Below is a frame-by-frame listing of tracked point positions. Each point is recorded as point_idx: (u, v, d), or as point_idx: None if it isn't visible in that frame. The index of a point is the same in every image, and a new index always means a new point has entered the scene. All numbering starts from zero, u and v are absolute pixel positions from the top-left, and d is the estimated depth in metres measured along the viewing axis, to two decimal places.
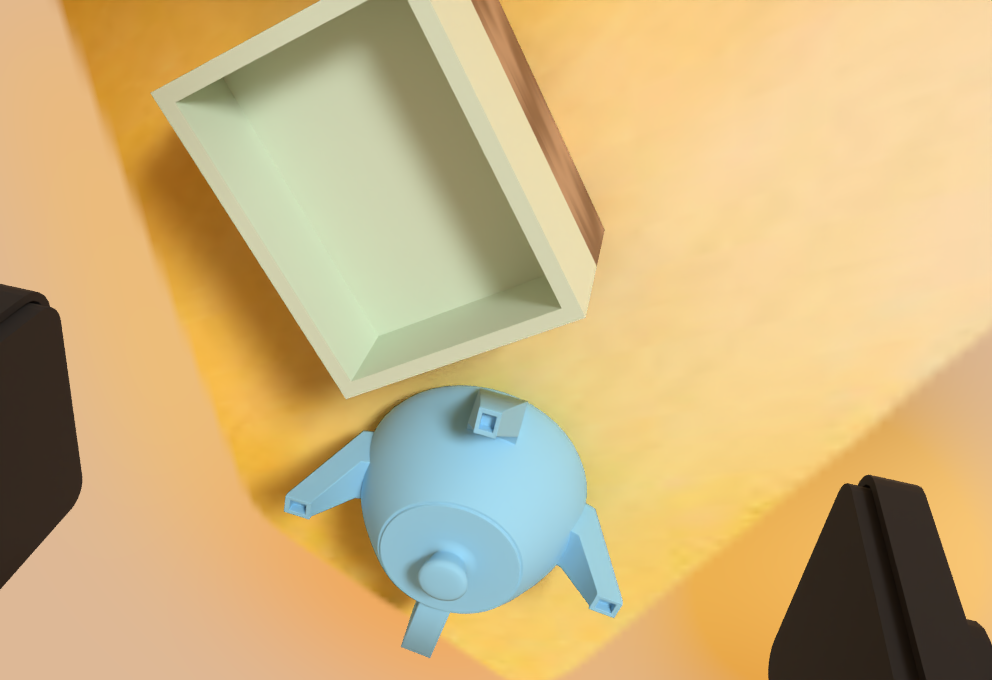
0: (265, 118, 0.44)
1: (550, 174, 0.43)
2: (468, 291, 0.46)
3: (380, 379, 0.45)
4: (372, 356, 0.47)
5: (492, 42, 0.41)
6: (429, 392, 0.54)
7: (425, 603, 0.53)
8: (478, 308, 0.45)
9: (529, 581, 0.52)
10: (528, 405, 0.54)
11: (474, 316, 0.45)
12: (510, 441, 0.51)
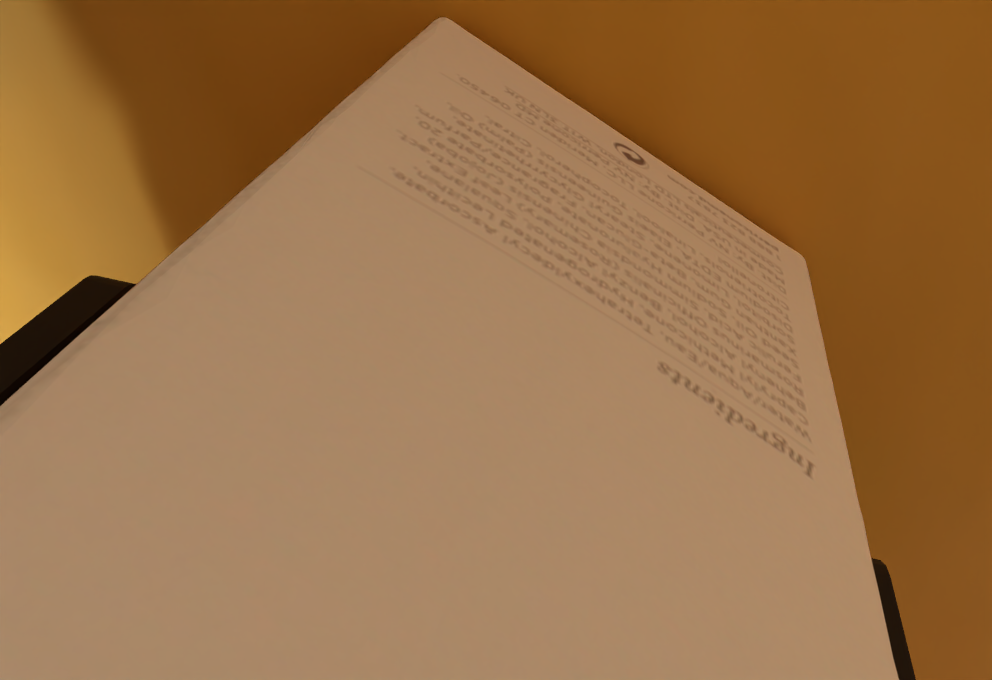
0: None
1: None
2: None
3: None
4: None
5: None
6: None
7: None
8: None
9: None
10: None
11: None
12: None
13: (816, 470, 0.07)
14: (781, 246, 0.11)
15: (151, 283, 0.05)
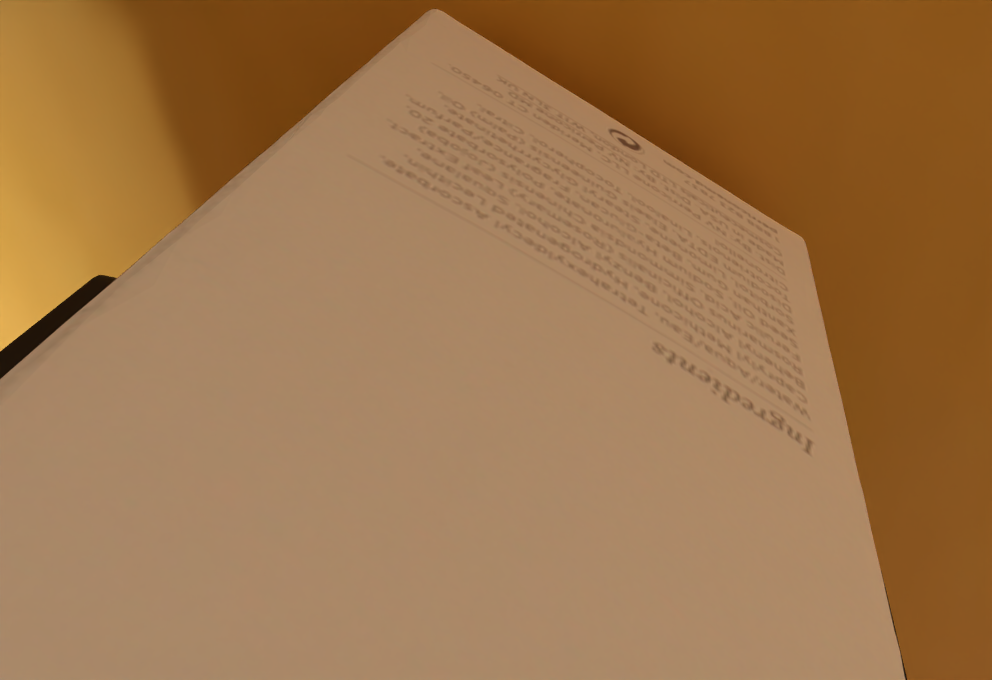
0: None
1: None
2: None
3: None
4: None
5: None
6: None
7: None
8: None
9: None
10: None
11: None
12: None
13: (815, 447, 0.07)
14: (780, 228, 0.11)
15: (138, 271, 0.05)
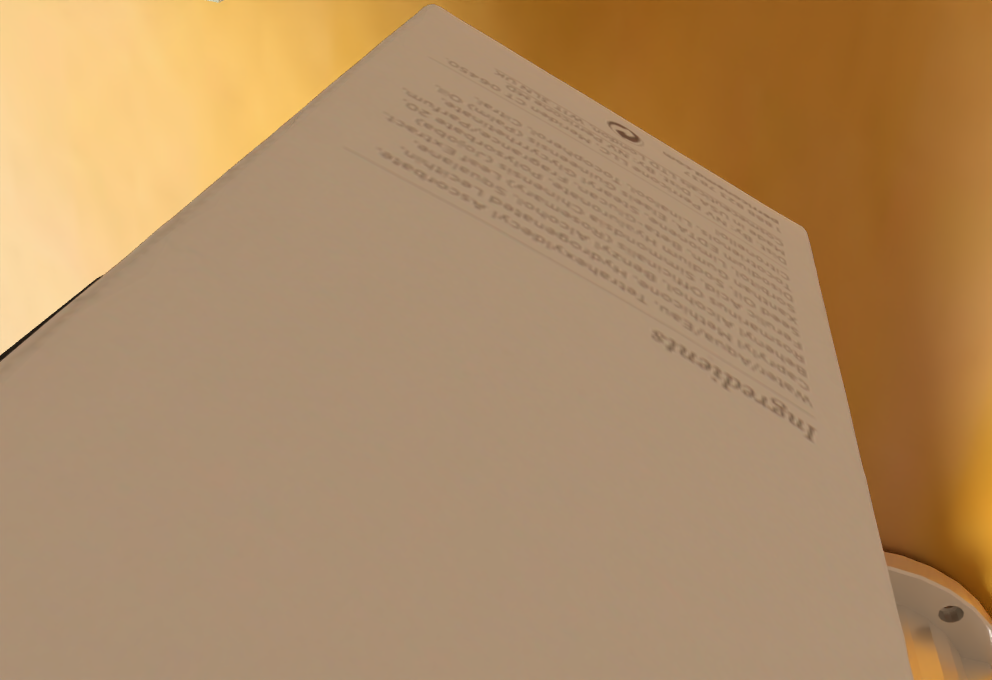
0: None
1: None
2: None
3: None
4: None
5: None
6: None
7: None
8: None
9: None
10: None
11: None
12: None
13: (817, 434, 0.07)
14: (781, 219, 0.11)
15: (133, 261, 0.05)
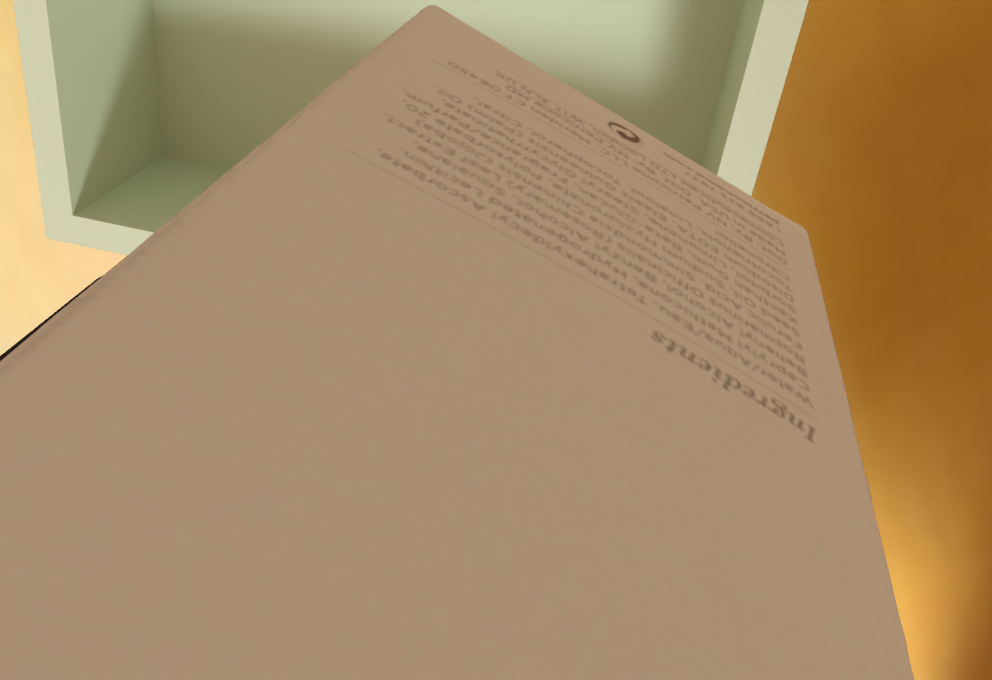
0: None
1: None
2: None
3: None
4: None
5: None
6: None
7: None
8: None
9: None
10: None
11: None
12: None
13: (818, 434, 0.07)
14: (782, 219, 0.11)
15: (131, 262, 0.05)
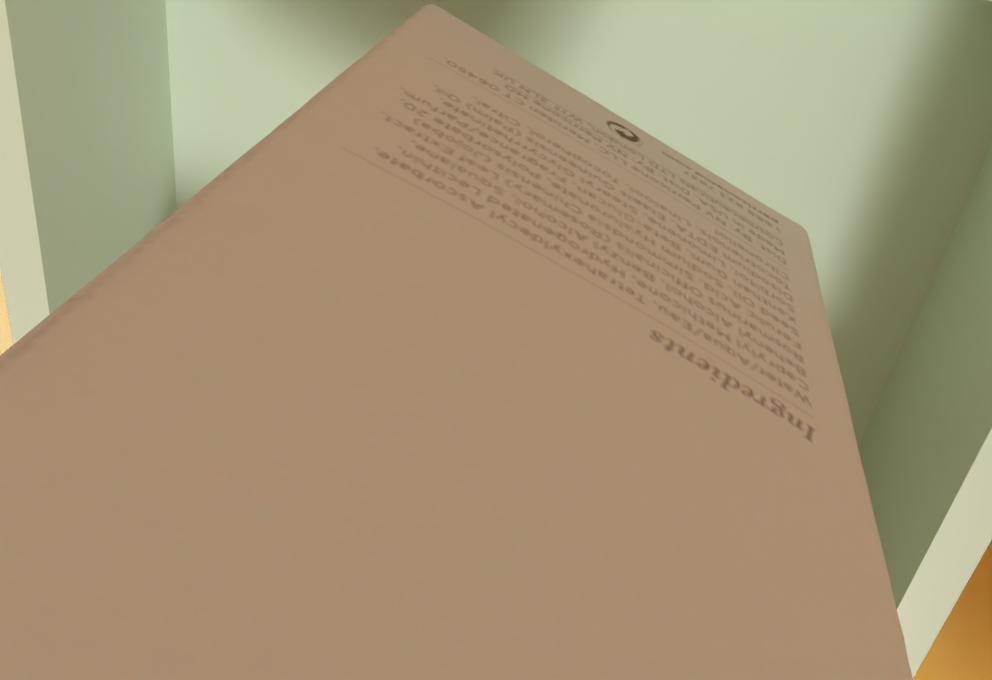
0: (874, 3, 0.15)
1: None
2: (201, 153, 0.19)
3: None
4: None
5: None
6: None
7: None
8: (146, 192, 0.18)
9: None
10: None
11: (122, 208, 0.17)
12: None
13: (817, 434, 0.07)
14: (781, 218, 0.11)
15: (127, 261, 0.05)
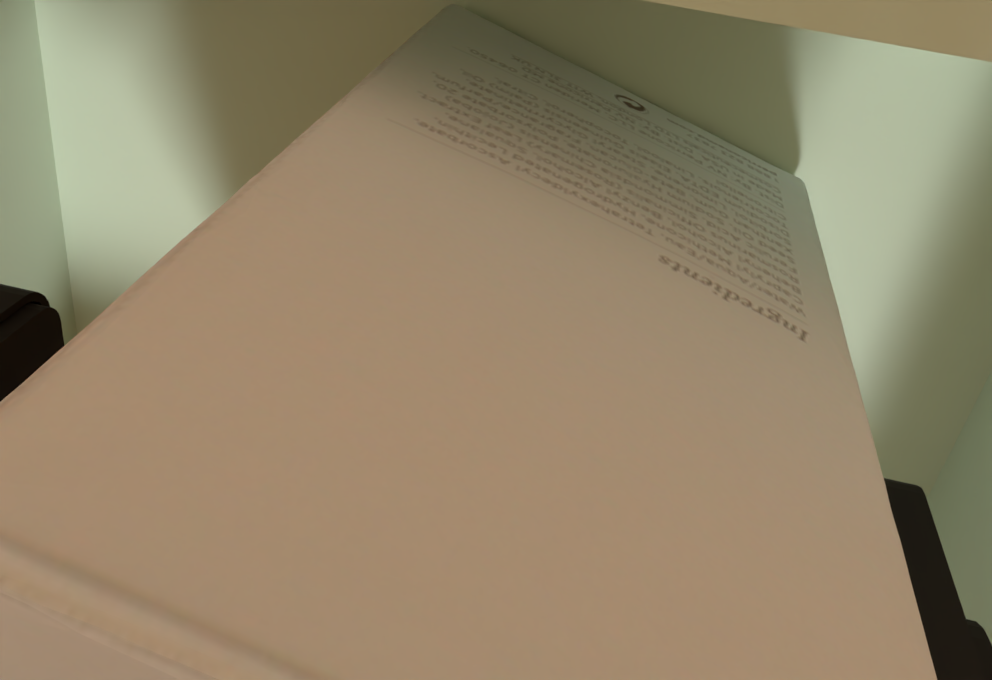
0: (921, 55, 0.12)
1: None
2: (95, 225, 0.15)
3: None
4: None
5: None
6: None
7: None
8: (24, 275, 0.15)
9: None
10: None
11: None
12: None
13: (810, 337, 0.09)
14: (779, 172, 0.12)
15: (232, 203, 0.06)
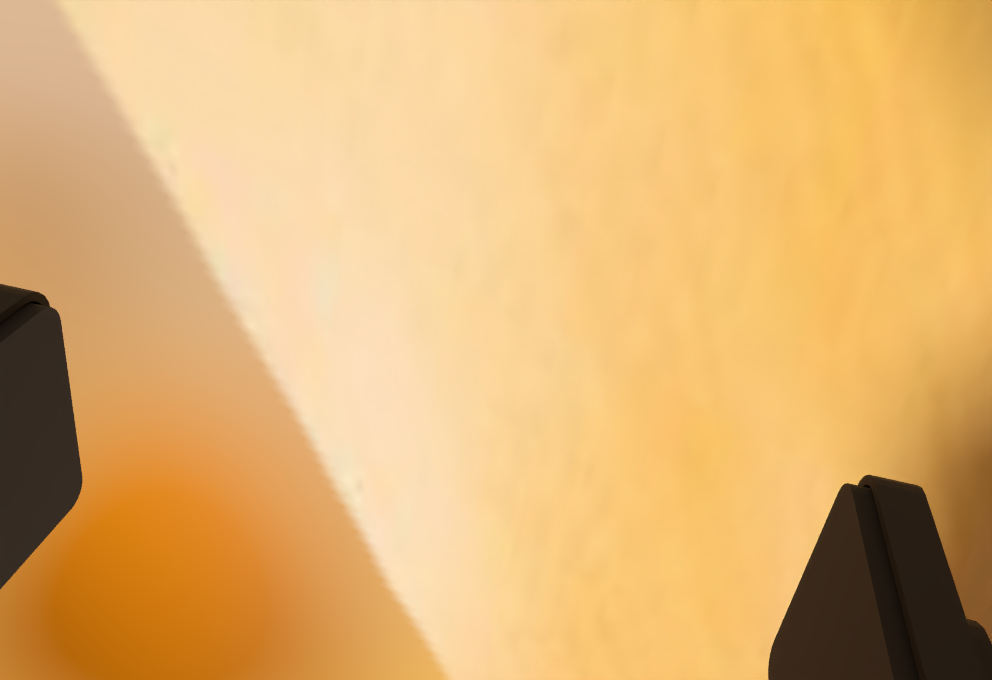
0: None
1: None
2: None
3: None
4: None
5: None
6: None
7: None
8: None
9: None
10: None
11: None
12: None
13: None
14: None
15: None
